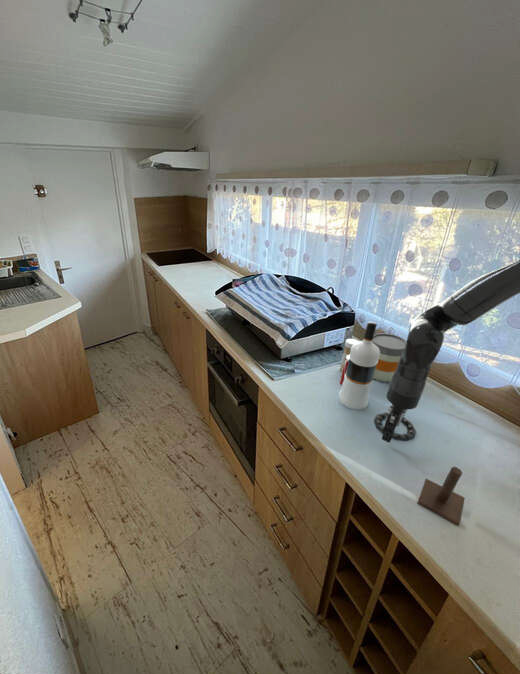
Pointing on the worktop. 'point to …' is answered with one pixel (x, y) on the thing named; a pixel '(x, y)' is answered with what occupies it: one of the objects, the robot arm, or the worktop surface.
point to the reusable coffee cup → (388, 355)
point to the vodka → (360, 371)
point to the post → (443, 497)
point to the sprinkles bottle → (347, 350)
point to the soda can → (344, 370)
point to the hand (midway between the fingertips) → (390, 431)
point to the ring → (402, 437)
